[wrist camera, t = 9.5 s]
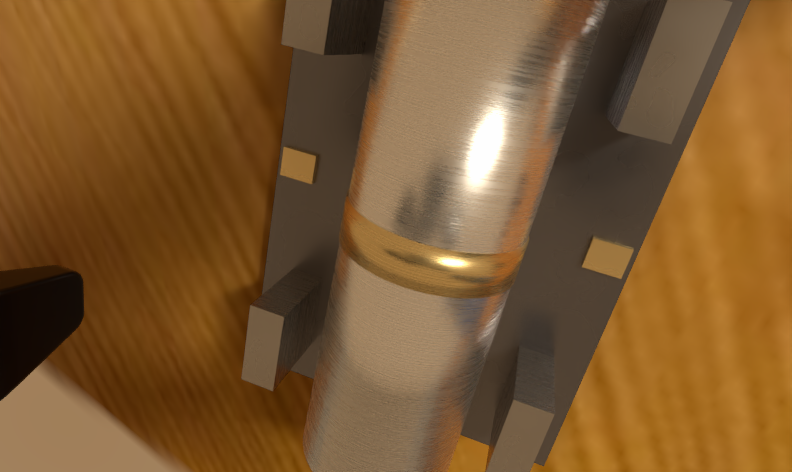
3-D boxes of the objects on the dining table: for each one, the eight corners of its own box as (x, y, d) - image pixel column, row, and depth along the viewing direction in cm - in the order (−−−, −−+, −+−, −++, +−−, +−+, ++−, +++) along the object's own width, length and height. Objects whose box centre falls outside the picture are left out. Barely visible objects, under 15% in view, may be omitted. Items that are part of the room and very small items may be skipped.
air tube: (625, -54, 13) (657, -111, 9) (462, 423, 19) (430, 538, 15) (435, -90, 14) (373, -158, 10) (338, 374, 20) (272, 468, 16)
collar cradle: (761, -41, 13) (830, -71, 10) (543, 454, 20) (542, 535, 16) (324, -124, 15) (262, -171, 12) (261, 348, 22) (210, 401, 18)
